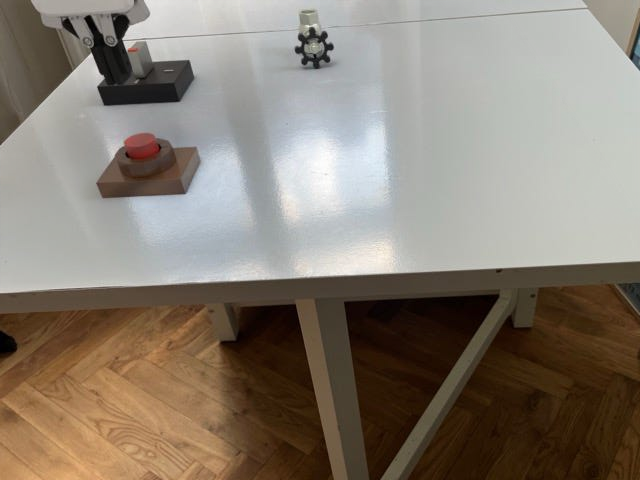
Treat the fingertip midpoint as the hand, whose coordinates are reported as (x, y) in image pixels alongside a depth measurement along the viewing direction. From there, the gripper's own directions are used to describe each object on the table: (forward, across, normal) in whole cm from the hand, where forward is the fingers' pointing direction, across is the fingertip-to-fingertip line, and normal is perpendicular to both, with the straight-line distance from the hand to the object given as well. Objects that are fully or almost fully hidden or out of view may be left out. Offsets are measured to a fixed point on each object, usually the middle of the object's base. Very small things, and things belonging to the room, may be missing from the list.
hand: (119, 80), depth 61 cm
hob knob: (+9, +9, -29) cm, 32 cm away
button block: (+12, 0, 0) cm, 13 cm away
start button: (+9, 0, 0) cm, 9 cm away
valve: (+13, -17, -41) cm, 46 cm away
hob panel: (+12, +9, -29) cm, 33 cm away
